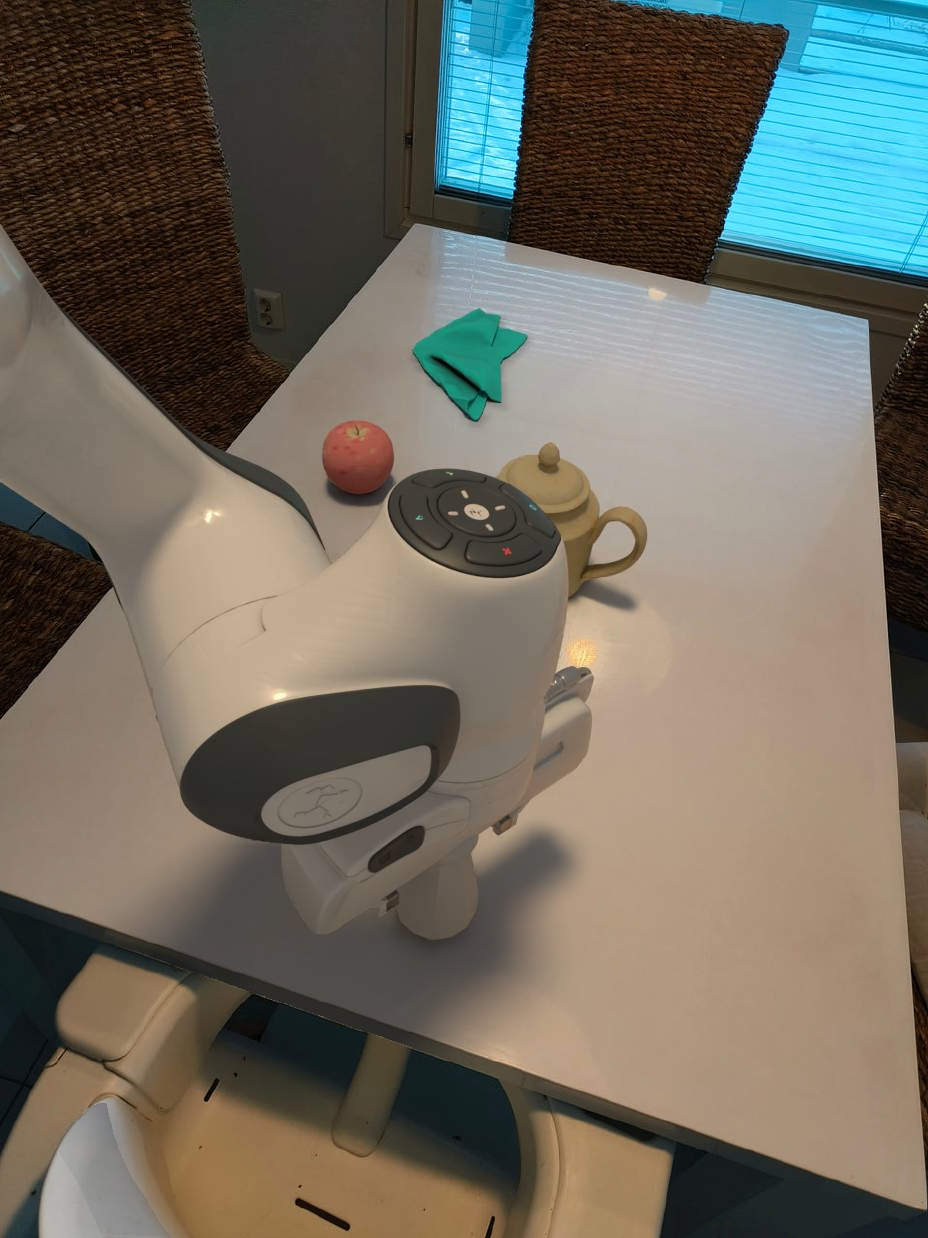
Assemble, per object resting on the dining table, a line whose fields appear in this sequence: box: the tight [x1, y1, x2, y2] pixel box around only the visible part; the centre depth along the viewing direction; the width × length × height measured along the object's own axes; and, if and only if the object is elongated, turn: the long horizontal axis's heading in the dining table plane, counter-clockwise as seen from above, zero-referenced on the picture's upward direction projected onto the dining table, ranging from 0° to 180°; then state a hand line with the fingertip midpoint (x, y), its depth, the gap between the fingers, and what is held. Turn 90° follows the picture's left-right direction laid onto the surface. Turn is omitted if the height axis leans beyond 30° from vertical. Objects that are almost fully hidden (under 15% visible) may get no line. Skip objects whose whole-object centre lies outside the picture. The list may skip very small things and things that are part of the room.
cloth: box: [412, 307, 529, 421], centre depth 110 cm, size 26×14×2 cm, turn 164°
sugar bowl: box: [494, 441, 648, 599], centre depth 79 cm, size 15×11×15 cm
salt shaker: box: [395, 834, 480, 941], centre depth 55 cm, size 6×6×13 cm
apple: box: [321, 419, 395, 495], centre depth 89 cm, size 7×7×8 cm
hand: (442, 860), depth 55 cm, fingers open, 8 cm apart
